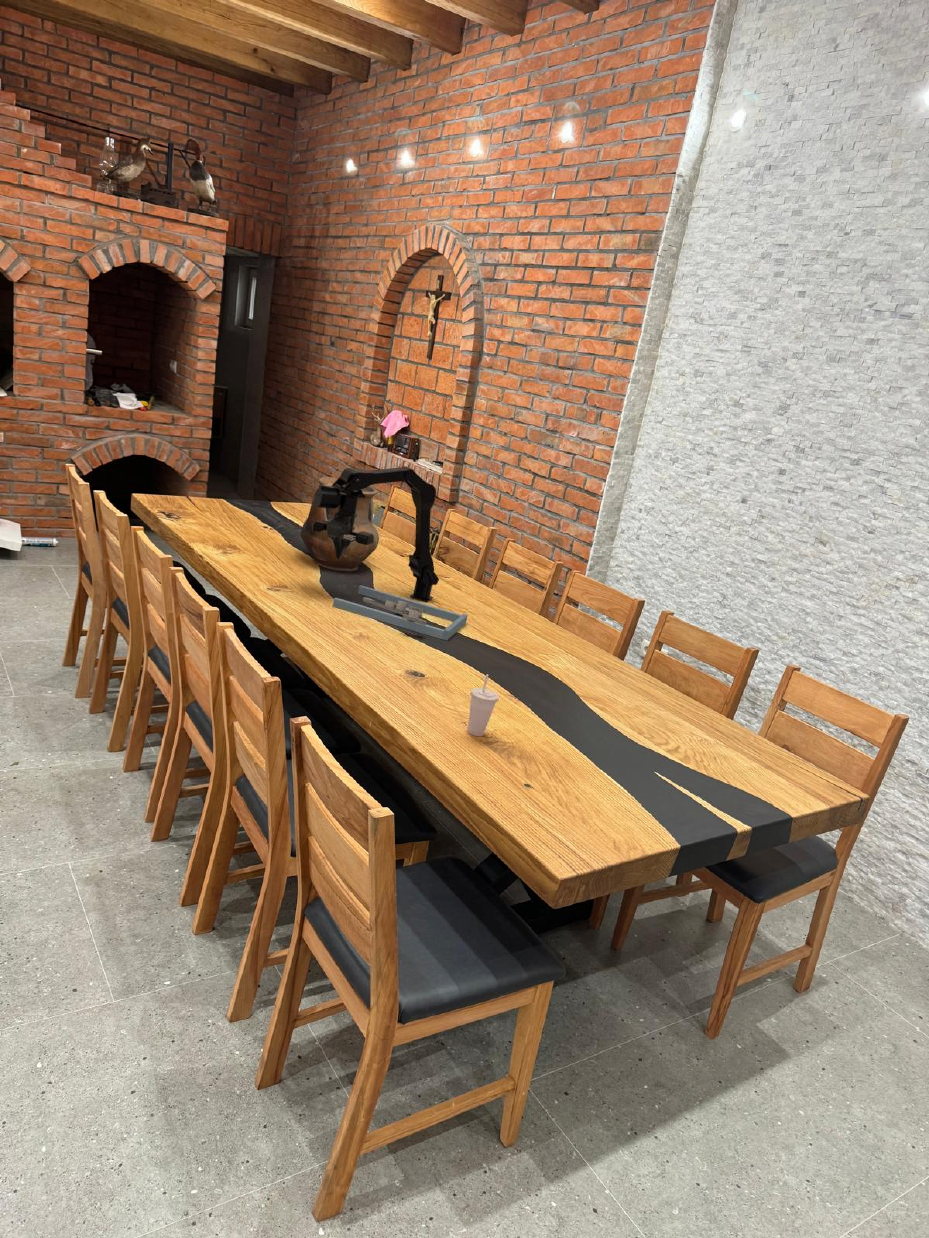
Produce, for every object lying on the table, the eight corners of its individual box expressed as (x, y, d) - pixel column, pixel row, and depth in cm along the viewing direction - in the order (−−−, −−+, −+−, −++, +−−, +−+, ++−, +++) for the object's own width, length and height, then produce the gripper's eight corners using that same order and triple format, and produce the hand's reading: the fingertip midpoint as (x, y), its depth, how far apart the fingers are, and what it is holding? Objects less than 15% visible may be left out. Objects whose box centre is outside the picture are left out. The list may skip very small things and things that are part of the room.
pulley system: (389, 611, 263) (354, 601, 251) (394, 597, 262) (359, 586, 251) (447, 635, 244) (412, 625, 233) (452, 620, 244) (418, 609, 233)
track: (359, 592, 268) (361, 583, 267) (465, 623, 260) (467, 615, 259) (332, 606, 248) (334, 597, 247) (446, 640, 241) (448, 631, 240)
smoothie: (473, 723, 189) (486, 668, 185) (495, 735, 185) (509, 679, 181) (456, 729, 184) (469, 672, 180) (477, 741, 180) (491, 683, 176)
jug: (360, 583, 278) (375, 497, 269) (282, 563, 280) (295, 477, 272) (383, 564, 309) (398, 486, 300) (313, 546, 311) (326, 469, 303)
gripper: (307, 505, 245) (299, 555, 250) (364, 520, 241) (355, 571, 246) (323, 501, 256) (315, 549, 260) (378, 516, 252) (369, 565, 256)
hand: (338, 558), depth 255 cm, fingers closed
